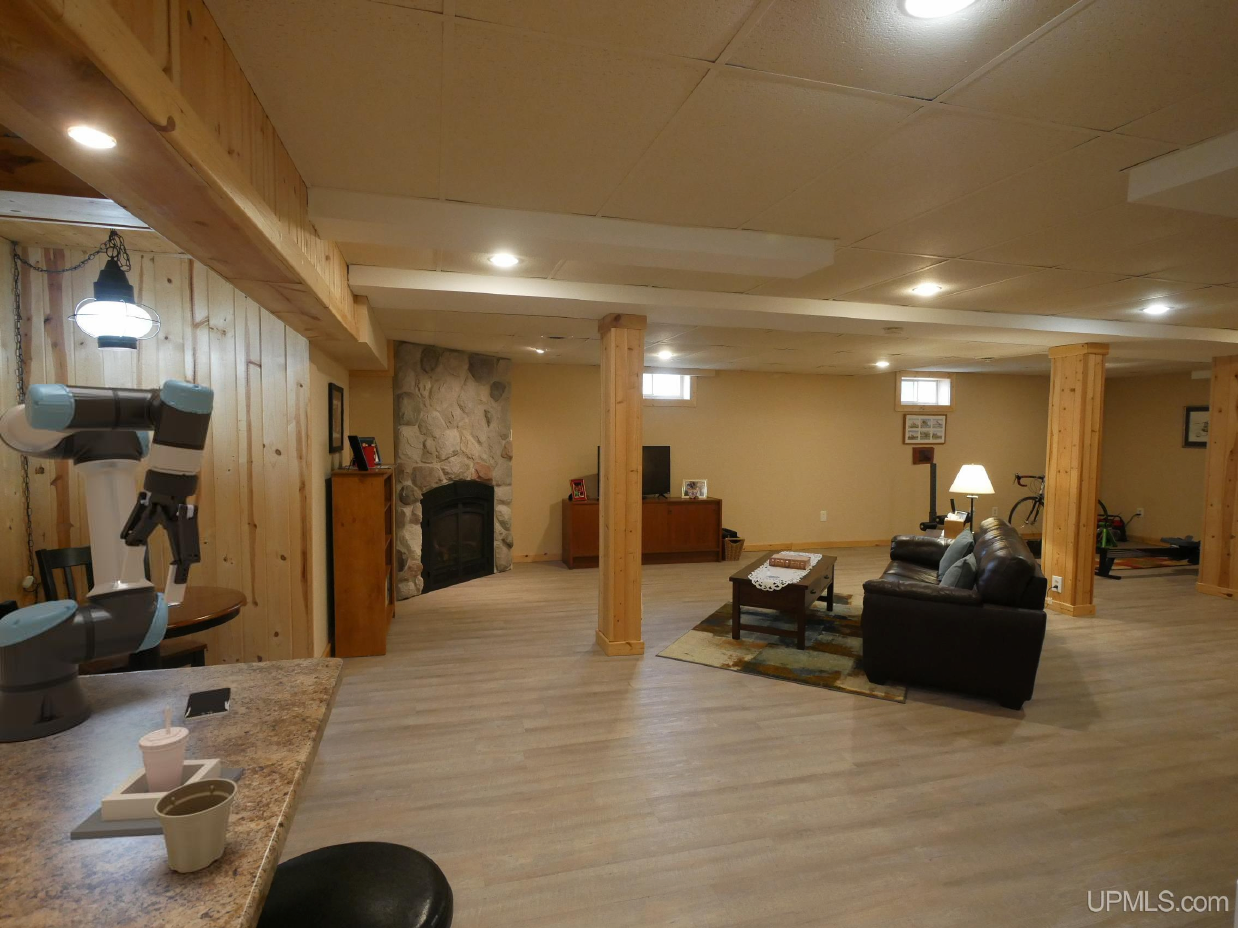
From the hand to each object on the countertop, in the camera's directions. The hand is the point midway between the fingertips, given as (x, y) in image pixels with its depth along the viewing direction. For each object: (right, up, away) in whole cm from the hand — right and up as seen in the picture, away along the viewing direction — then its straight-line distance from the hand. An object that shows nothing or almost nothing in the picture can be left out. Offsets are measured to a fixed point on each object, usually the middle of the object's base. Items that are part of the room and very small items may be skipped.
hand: (150, 592), depth 109 cm
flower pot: (+23, -32, -23) cm, 46 cm away
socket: (+10, -31, -10) cm, 34 cm away
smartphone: (-6, -30, +25) cm, 39 cm away
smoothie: (+10, -30, -10) cm, 33 cm away
